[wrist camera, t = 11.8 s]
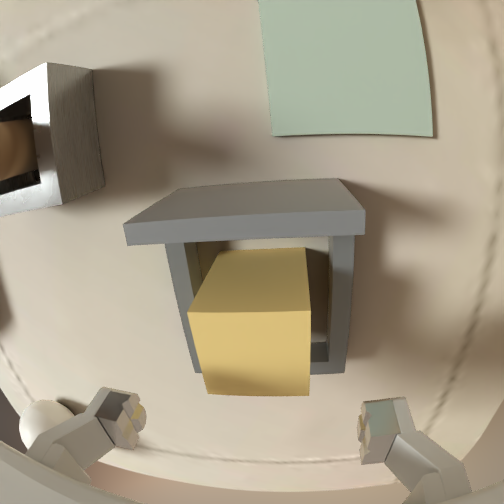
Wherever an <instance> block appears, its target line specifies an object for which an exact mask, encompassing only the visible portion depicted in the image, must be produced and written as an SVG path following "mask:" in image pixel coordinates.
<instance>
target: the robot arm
mask: <svg viewBox="0 0 504 504" xmlns="http://www.w3.org/2000/svg"><path fill="white" fill-rule="evenodd" d="M139 401H140V398H139V396H138V394H135V393H131V392H126V391H121V390H117V389H112V388H107V387H102V388H100V390H99V391H98V392H97V394H96V395H95V397H94V398H93V400H92V401H91V403H90V404H89V406H88V407H87V409H86V410H85V412H84V413H80V414H78V415H76V416H74V417H72V418H70V419H68V420H66V421H64V422H62V423H61V424H59V425H57V426H55V427H53V428H51V429H49V430H47V431H45V432H43V433H41V434H39V435H38V436H37V438H36V439H35V441H34V442H33V444H32V445H31V447H30V448H29V449H28V451H27V452H26V454H25V455H24V454H22V453H21V452H19V451H17V450H15V449H14V448H11V447H10V446H9V445H7V444H5V443H4V442H2V441H0V504H146V503H142V502H139V501H135V500H132V499H128V498H125V497H122V496H119V495H115V494H113V493H110V492H107V491H104V490H101V489H99V488H96V487H93V486H91V485H89V484H90V482H91V478H90V477H89V476H88V474H87V473H86V472H85V471H84V470H85V469H86V468H88V467H89V466H90V465H92V464H93V463H94V462H96V461H97V460H98V459H100V458H101V457H102V456H104V455H105V454H106V453H108V452H109V451H110V450H112V449H113V448H114V447H115V446H118V447H123V448H127V449H132V450H134V448H135V445H136V443H137V441H138V439H139V435H138V432H140V431H141V430H143V428H144V426H145V424H146V411H145V409H144V407H143V406H142V405H140V404H139ZM361 413H362V414H361V415H360V416H359V418H358V425H357V434H358V440H359V441H360V442H361V446H360V450H359V451H360V458H361V465H364V464H374V463H383V462H385V463H384V464H385V465H386V466H387V467H388V468H389V469H390V470H391V471H392V472H393V474H394V475H395V476H396V477H397V478H398V479H399V480H400V481H401V482H402V483H403V485H404V486H405V487H406V488H407V489H408V490H409V491H410V492H411V493H410V495H409V496H408V497H407V498H406V500H405V501H404V502H403V504H504V480H502V481H500V482H497V483H495V484H493V485H490V486H488V487H485V488H482V489H480V490H477V491H474V492H472V490H471V487H470V483H469V480H468V477H467V473H466V470H465V467H464V464H463V463H462V462H461V461H459V460H458V459H457V458H455V457H454V456H453V455H451V454H450V453H449V452H447V451H446V450H445V449H443V448H442V447H441V446H439V445H438V444H437V443H436V442H434V441H433V440H432V439H430V438H429V437H428V436H426V435H425V434H424V433H423V432H421V431H420V430H419V431H416V429H415V426H414V422H413V419H412V416H411V413H410V409H409V406H408V403H407V400H406V398H405V397H397V398H391V399H390V398H388V399H380V400H371V401H363V403H362V405H361Z"/></svg>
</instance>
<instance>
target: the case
mask: <svg viewBox="0 0 504 504" xmlns="http://www.w3.org/2000/svg"><path fill="white" fill-rule="evenodd" d="M123 227H124V232H125V237H126V241H127V246H131V245H148V244H165V248H166V253H167V258H168V263H169V268H170V272H171V277H172V282H173V286H174V291H175V295H176V300H177V304H178V308H179V312H180V316H181V321H182V325H183V329H184V333H185V337H186V340H187V344H188V348H189V352H190V356H191V359H192V363H193V367H194V370H195V373H202V371H201V367H200V363H199V359H198V355H197V351H196V348H195V344H194V340H193V335H192V331H191V327H190V323H189V319H188V315H187V311H188V309H189V308H190V306H191V304H192V302H193V300H194V298H195V296H196V294H197V293H198V291H199V289H200V287H201V285H202V283H203V281H202V275H201V270H200V264H199V258H198V252H197V246H196V242H205V241H226V240H247V239H269V238H293V237H318V236H329V288H328V319H327V340H326V342H322V343H311V346H310V375H315V374H335V373H344V372H345V364H346V355H347V346H348V337H349V326H350V315H351V302H352V287H353V268H354V241H355V235H365V209H364V208H363V207H362V205H361V204H360V203H359V202H358V201H357V200H356V198H355V197H354V196H353V195H352V194H351V193H350V192H349V190H348V189H347V188H346V187H345V186H344V185H343V184H342V183H341V181H340V180H339V179H338V178H332V179H304V180H283V181H265V182H250V183H237V184H224V185H213V186H202V187H192V188H182V189H178V190H176V191H174V192H173V193H171V194H170V195H168V196H166V197H165V198H163V199H161V200H160V201H158V202H157V203H155V204H153V205H152V206H150V207H149V208H147V209H145V210H144V211H142V212H141V213H139V214H138V215H136V216H135V217H133V218H131V219H130V220H128V221H127V222H125V223H124V224H123Z"/></svg>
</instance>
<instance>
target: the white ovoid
mask: <svg viewBox="0 0 504 504" xmlns="http://www.w3.org/2000/svg"><path fill="white" fill-rule="evenodd" d="M72 417H74V414H73V413H72V412H71V411H70V410H69V409H68V408H66V407H65V406H63V405H62V404H60V403H58V402H55V401H52V400H39V401H36V402H33V403H31V404H30V405H28V406H27V407H26V408H25V409H24V411H23V413H22V416H21V418H20V426H19V430H20V434H21V438H22V441H23V443H24V444H25V446H26V447H27V449H29V448H30V447H31V445H32V444H33V442H34V441H35V439H36V438H37V436H38V435H39V434H41V433H43V432H45V431H47V430H49V429H51V428H53V427H55V426H57V425H59V424H61V423H62V422H64V421H66V420H68V419H70V418H72Z"/></svg>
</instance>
